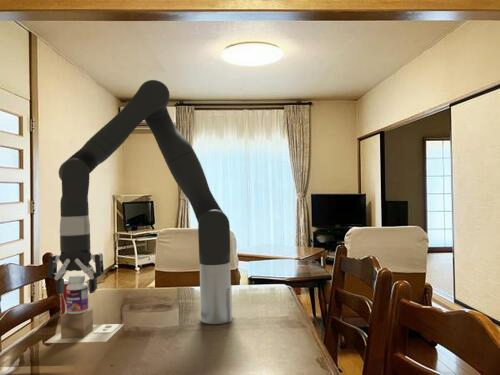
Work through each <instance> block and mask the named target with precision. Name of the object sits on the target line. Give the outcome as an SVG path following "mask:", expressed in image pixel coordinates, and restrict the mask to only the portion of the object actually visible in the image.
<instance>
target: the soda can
mask: <svg viewBox="0 0 500 375" xmlns="http://www.w3.org/2000/svg"><path fill="white" fill-rule="evenodd" d="M69 284H70V282H69V278H68V279H64V293H62V294H59V295H60V296H59V298H60V299H59V300H60V303H59V304H60V316H61V315H62V314H64V313H66V312H67V292H66V288H67V285H69Z"/></svg>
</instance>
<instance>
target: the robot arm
mask: <svg viewBox="0 0 500 375" xmlns="http://www.w3.org/2000/svg"><path fill="white" fill-rule="evenodd" d="M170 95H171V94H170V91H169V88H168V86H167V84H165V83H164V82H162V81H161V80H158V79H149V80H146V81H144V82H143V83H142V84H141V85H140V86H139V87H138V90H137V91H136V93H135V94H134V95H133V96H132V98H131V99H130V100H129V101H128V103H127V104H126V105H125V106H124V107H123V108H122V109H121V110H120V111H119V112H118V113H117V114H116V115H115V116H114V117H113V118H112V119H111V120H109V121H108V122H107V123H106V124H105V125H103V126H102V127H101V128H100V129H99V130H98V131H97V132H95V133H94V135H92V136H91V137H90V138H89V139H88V140H87V141H86V142H85V143H84V145H83V146H82V147H81V148H79V149H78V150H77V151H75V153H74V154H72V155H70V157H68V158H67V159H66V160H65V161H64V162H62V164H61V165H60V167H59V169H58V177H59V179H60V180H61V193H62V194H61V197H60V203H59V204H60V206H59V208H60V221H59V247H60V248H59V249H60V255H58V254H52V255H50V256H48V259H47V261H48V263H47V264H48V266H47V277H48V278H49V279H52V280H53V279H54V280H55V291H56V293H57V295H60V294H62V293H64V280H65V278H64V277H65V275H66V274H67V272H74V271H77V272H81V271H82V272H83V273H84V274H86V276H87V277H88V278H89V280H88V294H94V293H95V292H96V291H97V289H98V278H99V277H101V276H103V275H104V274H105V270H104V258H103V257H104V256H103V253H100V252H99V253H97V254H92V253H91V224H90V223H91V222H90V214H89V210H90V209H89V190H90V189H89V188H90V174H91V173H92V172H93V171H94V170H95V169H96V168H97V167H98V166H100V164H102V163H104V162H106V160H108V158H110V157H111V156H112V155H114V152H116V151H117V150H118V149H119V148H120V147H121V146H122V145H123V144H124V143H125V142H126V140H127V139H128V138H129V136H131V134H132V133H133V132H134V131H135V129H137V127H139V125H140V124H141V123H142V122H143V121H144V122H145V123H146V125H147V127H148V128H149V130H150V131H151V133H152V136H154V139H155V141H156V144H157V146H158V149H159V151H160V152H161V155H162V156H163V159H164V161H165V163H166V165H167V167H168V170H169V172H170V174H171V175H172V178H173V179H174V181H175V182H176V185H177V186H178V187H179V188H180V190H181V191H182V193H183V194H184V196H185V197H186V199H187V200H188V202H189V204H190V206H191V208H192V210H193V213H194V215H195V218H196V221H197V224H198V225H197V228H198V229H197V234H198V257H199V258H198V259H199V292H200V294H199V295H200V296H199V298H200V321H201V322H202V323H204V324H207V325H221V324H225V323H232V320H233V296H232V295H233V294H232V290H233V288H232V284H231V283H232V282H231V280H232V279H231V229H230V228H231V227H230V221H229V217H228V216H227V215H226V214H225V213H224V211H223V210H222V209H221V207H220V206H219V204H218V202H217V200H216V199H215V196H214V195H213V193H212V191H211V189H210V187H209V184H208V181H207V180H208V179H207V177H206V174H205V171H204V169H203V166H202V165H201V162H200V160H199V158H198V156H197V153H196V152H195V149H194V148H193V146H192V145H191V144H190V142H189V141H188V139H186V138H185V137H184V135H183V134H182V133H181V132H180V130H179V129H178V128H177V127H176V126H175V124H174V122H173V120H172V118H171V115H170V112H169V110H168V107H167V106H168V104H169V100H170V97H171V96H170ZM91 261H92V262H93V263H94V266H95V269H94V267H93V265H92V264H91V263H90V262H91ZM59 262H60V263H61V264H62V265H61V267H59V269H58V263H59Z"/></svg>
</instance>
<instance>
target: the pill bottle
mask: <svg viewBox="0 0 500 375" xmlns="http://www.w3.org/2000/svg"><path fill="white" fill-rule="evenodd" d="M68 279H69V282H70V284H69V285H67V288H66V292H67V313H68V314H81V313H85V312H87V311H88V309H89V283H87V282H85V281H86V280H85V279H86V276H85V274H82V273H81V274H72V275H69V276H68Z"/></svg>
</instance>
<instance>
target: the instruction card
mask: <svg viewBox="0 0 500 375" xmlns="http://www.w3.org/2000/svg"><path fill="white" fill-rule="evenodd" d="M120 324H121V323H113V324H112V323H110V324H108V323H107V324H101V325H102V326H100V327H99V328H98V329H97V330H96V331H94V332H93V333H112V332H113V331H114V330H115V329H116V328H117V327H118V326H119V325H120Z"/></svg>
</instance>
